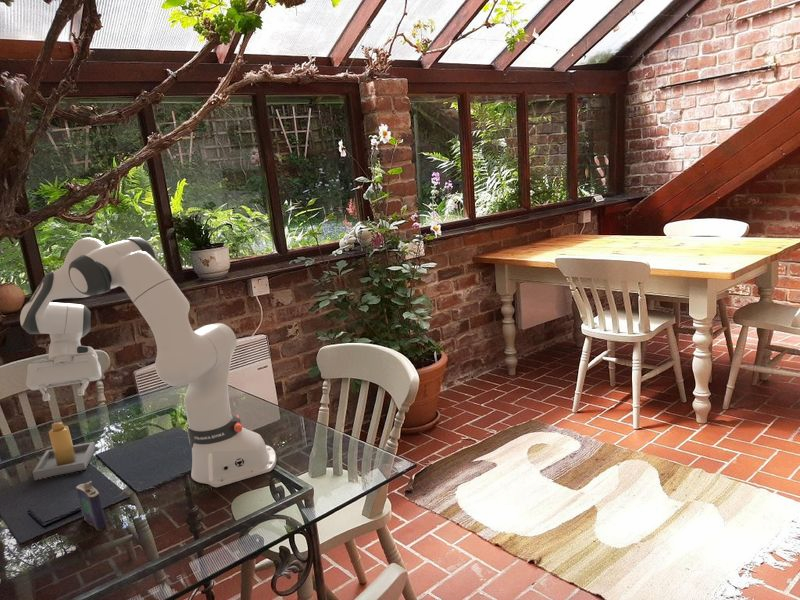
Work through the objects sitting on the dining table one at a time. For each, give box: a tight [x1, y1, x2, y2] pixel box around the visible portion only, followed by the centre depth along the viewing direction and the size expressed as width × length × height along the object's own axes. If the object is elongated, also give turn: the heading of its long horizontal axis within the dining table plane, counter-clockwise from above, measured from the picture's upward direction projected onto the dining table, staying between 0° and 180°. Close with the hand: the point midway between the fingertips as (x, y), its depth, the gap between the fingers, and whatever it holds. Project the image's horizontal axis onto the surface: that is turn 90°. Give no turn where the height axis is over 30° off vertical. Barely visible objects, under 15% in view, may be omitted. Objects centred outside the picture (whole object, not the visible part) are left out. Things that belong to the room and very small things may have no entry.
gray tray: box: [32, 441, 97, 481], centre depth 173 cm, size 13×13×2 cm
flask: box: [75, 480, 108, 531], centre depth 143 cm, size 9×3×11 cm, turn 50°
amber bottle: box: [48, 421, 76, 466], centre depth 172 cm, size 5×5×12 cm
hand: (63, 397), depth 180 cm, fingers open, 8 cm apart
